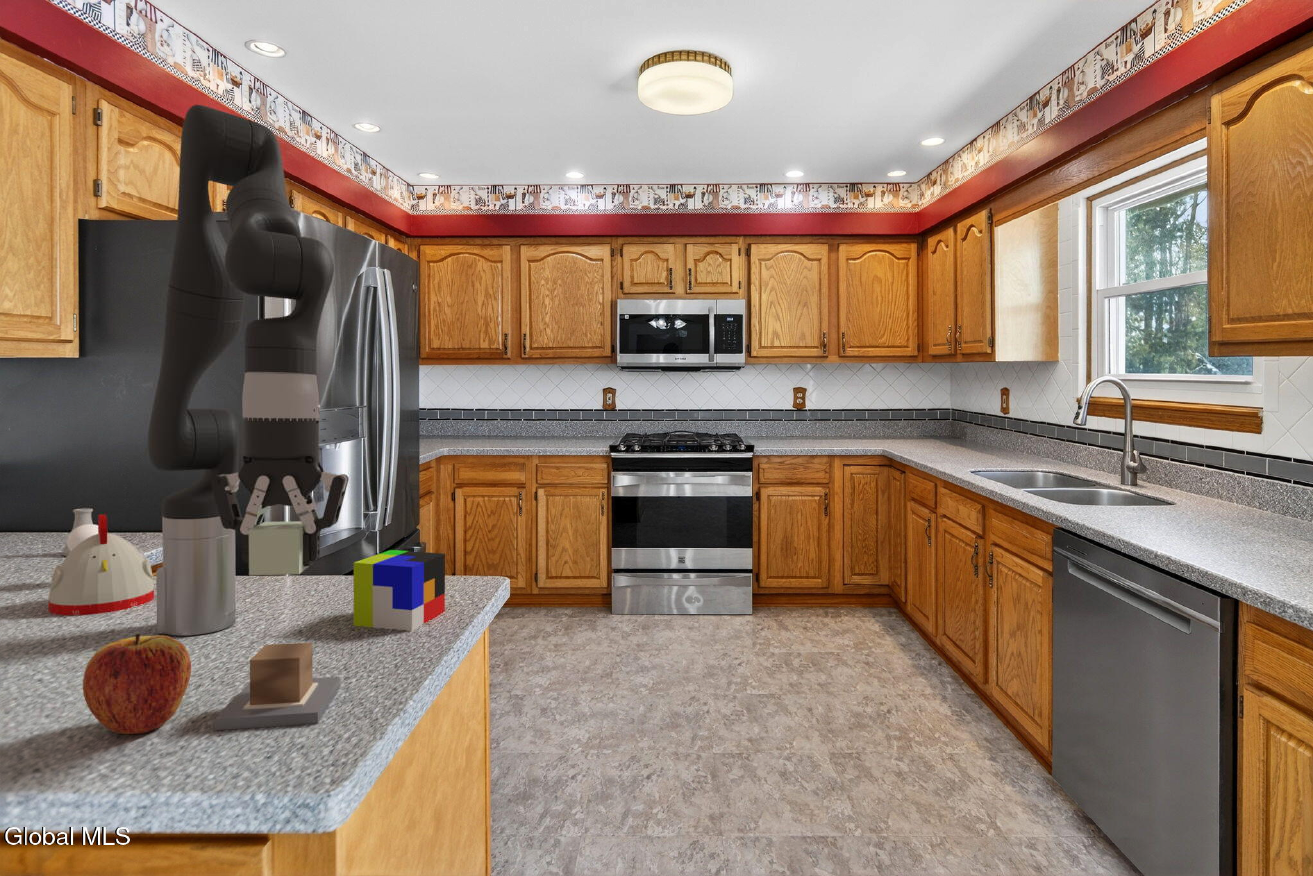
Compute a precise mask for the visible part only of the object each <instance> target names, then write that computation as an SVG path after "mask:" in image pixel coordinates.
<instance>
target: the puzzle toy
mask: <svg viewBox="0 0 1313 876" xmlns="http://www.w3.org/2000/svg"><path fill="white" fill-rule="evenodd" d="M445 597H446V553H444V552H443V553H441V552H428V551H413V550H398V549H397V550H396V549H390V550H387V551H384V552H381V553H379V554H376V555H372V556H369V557H366V558H363V559H361V560H357V561H354V562H353V626H354V627H360V626H364V627H363V628H371V627H373V628H372V629H381V628H385V629H386V630H392V629H399V630H398V631H403V630H407V631H406V632H414V631H415V630H417V629H419V628H420V627H422V626H423V625H422V624H424V623H426V622H427V623H429V622H430V621H429V620H431V621H432V619H433V618H434V619H436V618H438V617H439V616H438V615H440V614H441V613H443V612H445V611H446V610H445V608H446V603H445V601H446V598H445ZM445 613H446V612H445ZM443 614H444V613H443ZM441 615H442V614H441ZM441 615H440V616H441ZM437 616H438V617H437ZM435 617H436V618H435ZM434 619H433V620H434ZM428 621H429V622H428ZM427 623H426V624H427ZM421 625H422V626H421ZM424 625H425V624H424ZM419 626H420V627H419ZM418 627H419V628H418ZM416 628H417V629H416ZM385 629H384V630H385ZM400 629H401V630H400ZM414 629H415V630H414Z"/></svg>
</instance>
